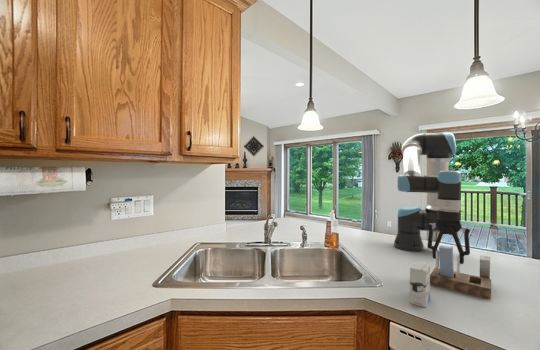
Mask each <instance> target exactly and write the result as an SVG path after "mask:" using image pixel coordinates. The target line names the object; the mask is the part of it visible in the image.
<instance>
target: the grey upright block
mask: <svg viewBox="0 0 540 350" xmlns="http://www.w3.org/2000/svg"><path fill="white" fill-rule="evenodd" d="M479 277H483V278H488V279H491V256H487V255H482V254H480V257H479Z"/></svg>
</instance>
